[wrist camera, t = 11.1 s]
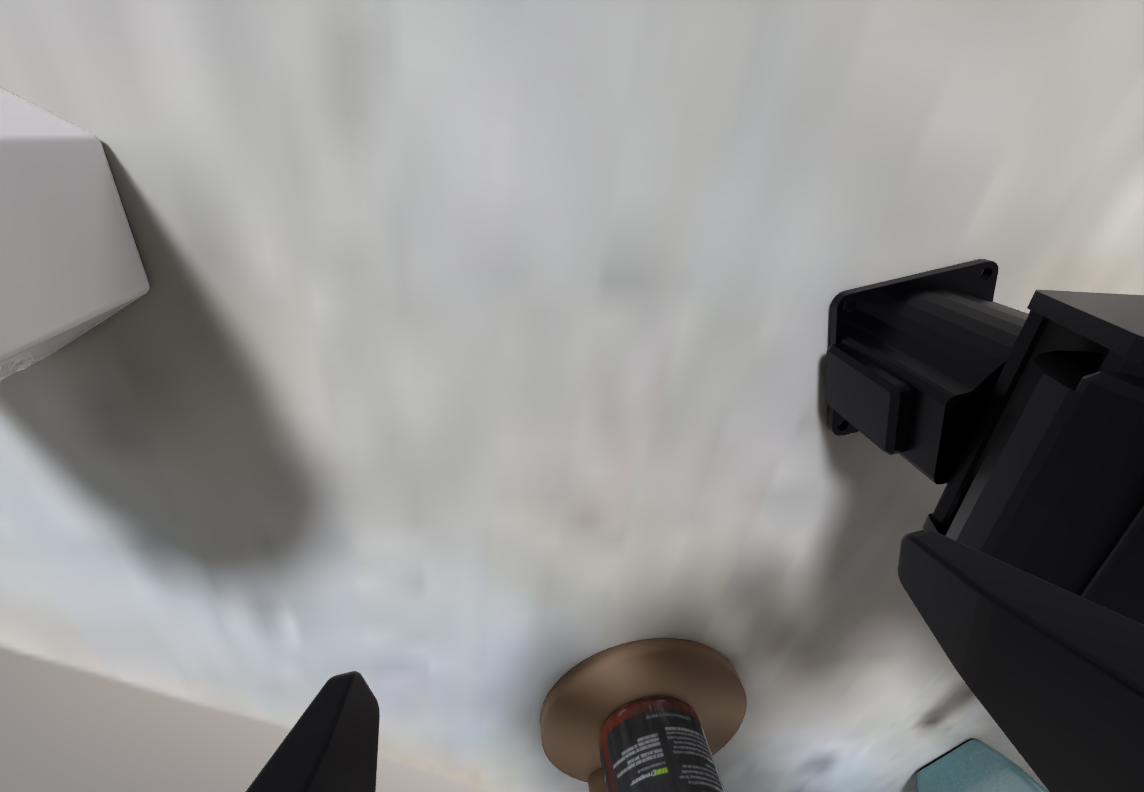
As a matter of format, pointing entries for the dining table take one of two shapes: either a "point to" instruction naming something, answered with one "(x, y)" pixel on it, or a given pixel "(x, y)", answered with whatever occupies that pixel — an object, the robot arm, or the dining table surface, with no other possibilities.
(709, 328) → the dining table surface
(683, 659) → the flange plate
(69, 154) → the jar
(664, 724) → the supplement bottle
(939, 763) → the flower pot
